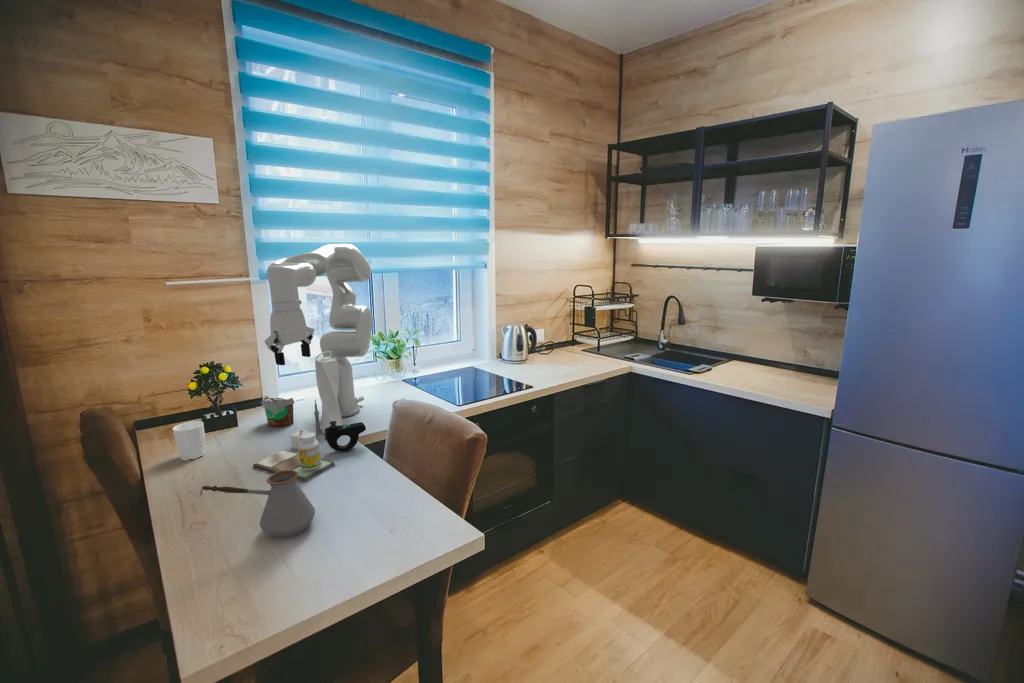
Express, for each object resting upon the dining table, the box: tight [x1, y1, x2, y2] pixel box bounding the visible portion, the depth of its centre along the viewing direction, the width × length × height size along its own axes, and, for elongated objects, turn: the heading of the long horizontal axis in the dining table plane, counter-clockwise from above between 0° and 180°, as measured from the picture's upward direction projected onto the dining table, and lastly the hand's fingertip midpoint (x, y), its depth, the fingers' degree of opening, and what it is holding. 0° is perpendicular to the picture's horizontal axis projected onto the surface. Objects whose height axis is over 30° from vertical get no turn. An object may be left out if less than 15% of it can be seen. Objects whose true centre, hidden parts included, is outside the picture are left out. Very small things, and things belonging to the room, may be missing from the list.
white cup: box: [172, 420, 207, 461], centre depth 146 cm, size 8×8×10 cm
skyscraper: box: [313, 351, 344, 436], centre depth 162 cm, size 8×8×28 cm
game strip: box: [252, 449, 336, 483], centre depth 138 cm, size 11×21×1 cm, turn 64°
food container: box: [261, 395, 295, 429], centre depth 169 cm, size 12×6×10 cm, turn 73°
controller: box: [323, 421, 367, 453], centre depth 148 cm, size 4×12×10 cm, turn 116°
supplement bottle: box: [298, 432, 322, 471], centre depth 134 cm, size 5×5×10 cm
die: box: [289, 429, 313, 451], centre depth 152 cm, size 4×4×5 cm
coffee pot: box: [199, 470, 316, 539], centre depth 104 cm, size 21×12×15 cm, turn 121°
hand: (294, 360), depth 147 cm, fingers open, 9 cm apart
